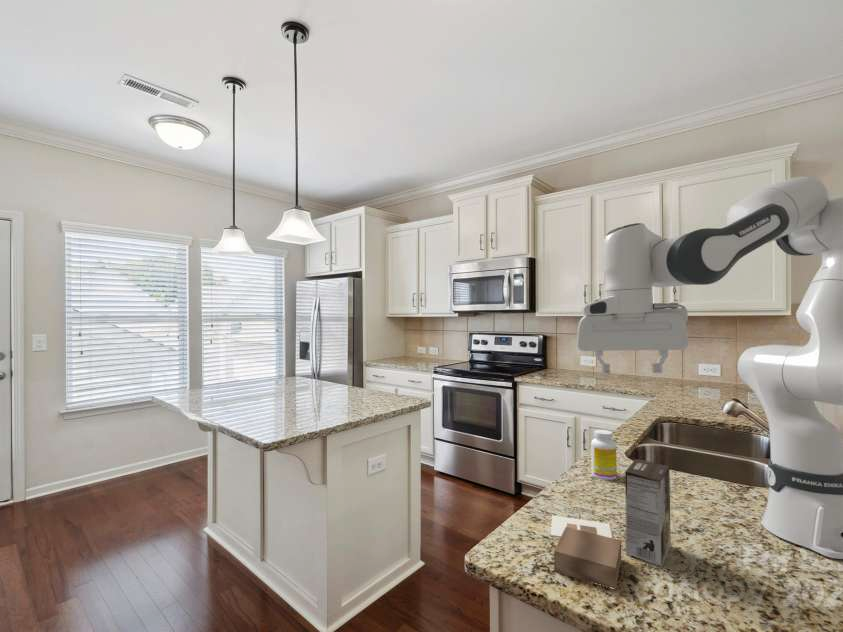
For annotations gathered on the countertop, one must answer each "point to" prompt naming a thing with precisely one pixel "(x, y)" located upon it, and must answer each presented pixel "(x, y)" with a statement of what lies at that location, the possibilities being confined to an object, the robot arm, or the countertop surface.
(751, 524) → the countertop surface
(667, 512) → the coffee box
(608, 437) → the supplement bottle
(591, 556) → the base block
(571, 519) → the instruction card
